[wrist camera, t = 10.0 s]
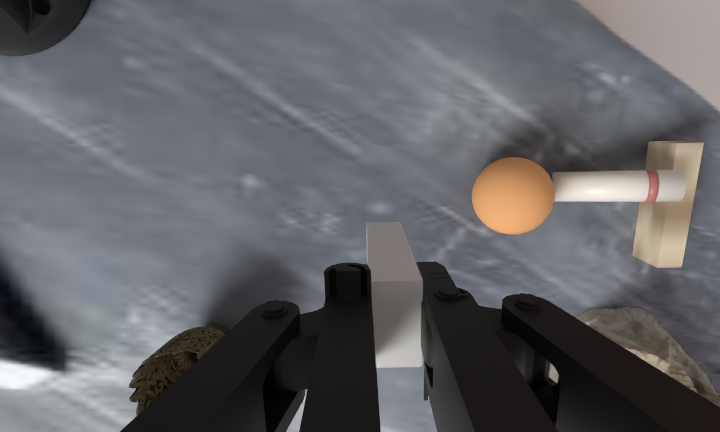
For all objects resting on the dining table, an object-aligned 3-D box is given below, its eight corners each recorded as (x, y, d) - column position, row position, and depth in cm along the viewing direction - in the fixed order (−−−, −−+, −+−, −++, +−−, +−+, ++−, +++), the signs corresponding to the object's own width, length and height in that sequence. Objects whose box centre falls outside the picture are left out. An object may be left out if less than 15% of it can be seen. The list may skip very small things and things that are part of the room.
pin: (554, 172, 31) (687, 169, 28) (551, 170, 33) (674, 167, 30) (553, 203, 31) (684, 204, 28) (550, 199, 33) (671, 200, 30)
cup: (266, 319, 36) (240, 373, 28) (243, 383, 38) (213, 451, 30) (188, 293, 36) (139, 341, 28) (168, 360, 37) (118, 422, 29)
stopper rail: (648, 141, 32) (677, 143, 29) (672, 140, 32) (703, 142, 29) (632, 255, 35) (656, 267, 32) (654, 254, 35) (681, 267, 32)
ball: (553, 153, 31) (476, 155, 34) (560, 159, 26) (467, 161, 28) (550, 225, 33) (475, 222, 35) (555, 246, 27) (467, 241, 29)
